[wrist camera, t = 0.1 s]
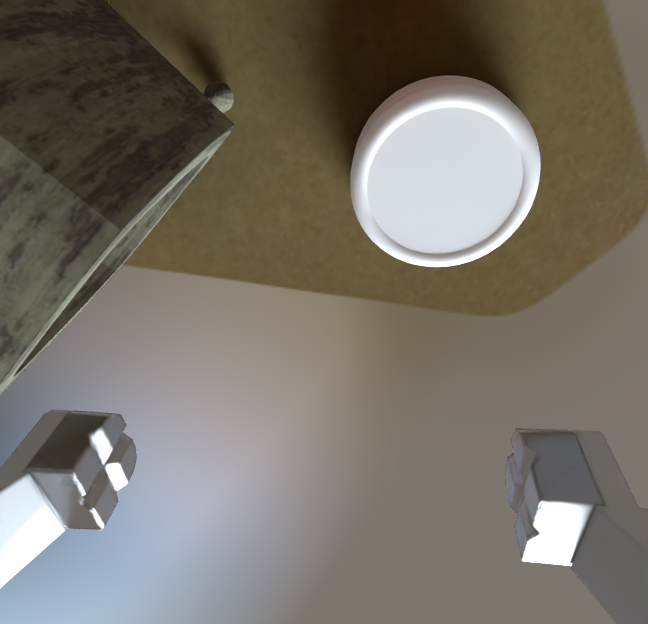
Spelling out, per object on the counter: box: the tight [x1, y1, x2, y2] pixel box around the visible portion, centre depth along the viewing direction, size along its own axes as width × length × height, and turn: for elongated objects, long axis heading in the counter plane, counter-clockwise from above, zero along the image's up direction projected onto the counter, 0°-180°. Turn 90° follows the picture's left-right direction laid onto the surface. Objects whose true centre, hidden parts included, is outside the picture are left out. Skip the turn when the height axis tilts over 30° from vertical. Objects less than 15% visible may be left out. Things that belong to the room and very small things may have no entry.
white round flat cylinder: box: [350, 75, 541, 267], centre depth 27 cm, size 10×10×4 cm
